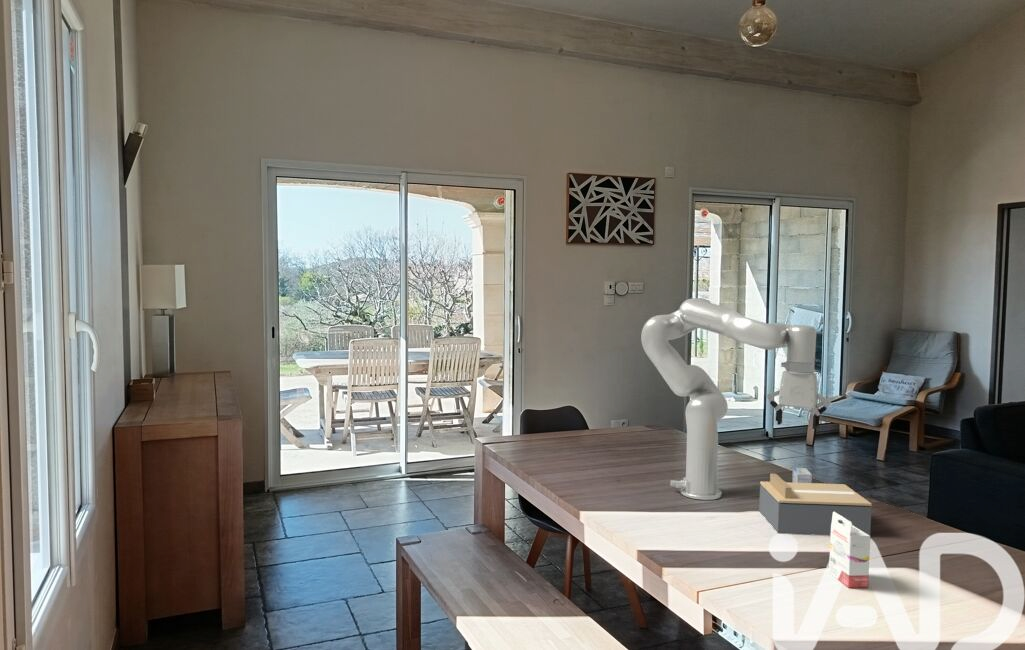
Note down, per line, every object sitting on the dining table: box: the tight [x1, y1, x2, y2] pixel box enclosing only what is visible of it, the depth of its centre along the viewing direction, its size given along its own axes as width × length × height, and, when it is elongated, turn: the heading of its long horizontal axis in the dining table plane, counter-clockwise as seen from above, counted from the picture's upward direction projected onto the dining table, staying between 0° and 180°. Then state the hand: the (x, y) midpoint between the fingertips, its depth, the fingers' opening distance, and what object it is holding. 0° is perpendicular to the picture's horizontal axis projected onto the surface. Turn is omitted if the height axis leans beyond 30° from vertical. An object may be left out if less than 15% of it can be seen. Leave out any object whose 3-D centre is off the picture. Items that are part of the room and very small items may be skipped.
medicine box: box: [791, 467, 813, 483], centre depth 221 cm, size 8×4×9 cm, turn 168°
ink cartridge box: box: [828, 512, 871, 589], centre depth 159 cm, size 9×5×15 cm, turn 5°
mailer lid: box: [759, 473, 873, 507], centre depth 197 cm, size 24×18×4 cm
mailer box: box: [758, 484, 872, 536], centre depth 197 cm, size 24×18×8 cm
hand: (796, 426), depth 206 cm, fingers open, 9 cm apart
